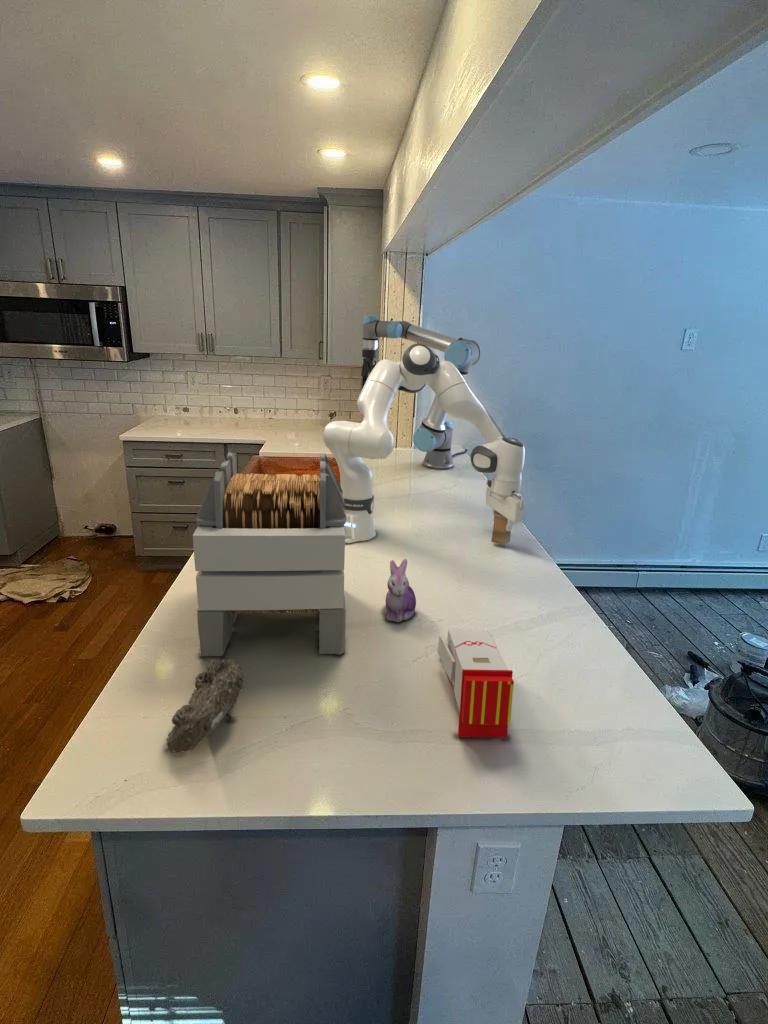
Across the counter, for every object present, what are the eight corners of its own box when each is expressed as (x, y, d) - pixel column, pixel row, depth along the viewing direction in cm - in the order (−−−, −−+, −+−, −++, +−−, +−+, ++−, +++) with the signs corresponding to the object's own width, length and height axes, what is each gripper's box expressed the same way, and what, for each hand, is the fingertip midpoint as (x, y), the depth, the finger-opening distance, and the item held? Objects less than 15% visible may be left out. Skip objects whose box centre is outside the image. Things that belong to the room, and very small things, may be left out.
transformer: (222, 587, 157) (213, 443, 143) (340, 586, 160) (343, 445, 147) (197, 659, 125) (183, 482, 111) (345, 655, 129) (349, 484, 115)
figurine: (392, 627, 141) (395, 572, 136) (374, 608, 149) (376, 556, 144) (425, 619, 145) (429, 566, 140) (405, 601, 154) (408, 550, 149)
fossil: (192, 660, 117) (244, 628, 112) (224, 691, 120) (276, 661, 115) (142, 746, 98) (202, 712, 93) (182, 779, 101) (242, 748, 96)
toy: (488, 613, 130) (523, 677, 101) (484, 667, 133) (517, 744, 104) (435, 612, 130) (455, 676, 101) (432, 666, 133) (451, 743, 103)
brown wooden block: (504, 545, 191) (508, 518, 188) (491, 541, 193) (494, 515, 190) (509, 541, 195) (513, 514, 191) (496, 537, 197) (499, 511, 194)
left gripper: (532, 496, 179) (526, 536, 184) (500, 477, 197) (495, 515, 202) (514, 497, 177) (509, 538, 182) (484, 478, 195) (479, 516, 200)
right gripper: (385, 351, 267) (383, 396, 274) (370, 347, 289) (368, 389, 296) (369, 351, 264) (368, 397, 271) (355, 347, 286) (354, 389, 294)
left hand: (501, 525), depth 192 cm, fingers closed on brown wooden block, 7 cm apart
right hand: (368, 393), depth 284 cm, fingers open, 13 cm apart
